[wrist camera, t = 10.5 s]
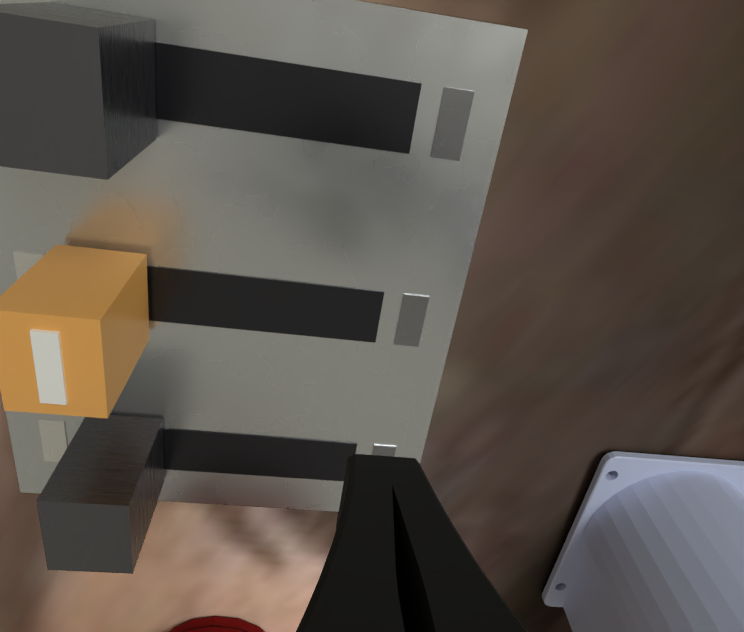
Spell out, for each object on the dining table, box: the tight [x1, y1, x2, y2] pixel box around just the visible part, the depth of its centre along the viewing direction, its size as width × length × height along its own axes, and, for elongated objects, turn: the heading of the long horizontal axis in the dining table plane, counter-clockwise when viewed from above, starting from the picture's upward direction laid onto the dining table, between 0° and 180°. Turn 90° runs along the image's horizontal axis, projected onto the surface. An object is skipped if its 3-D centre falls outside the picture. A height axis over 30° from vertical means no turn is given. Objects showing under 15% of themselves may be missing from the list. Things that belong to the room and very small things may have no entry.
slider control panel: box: [0, 0, 528, 573], centre depth 17 cm, size 17×14×6 cm
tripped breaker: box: [0, 244, 149, 418], centre depth 15 cm, size 3×2×4 cm
